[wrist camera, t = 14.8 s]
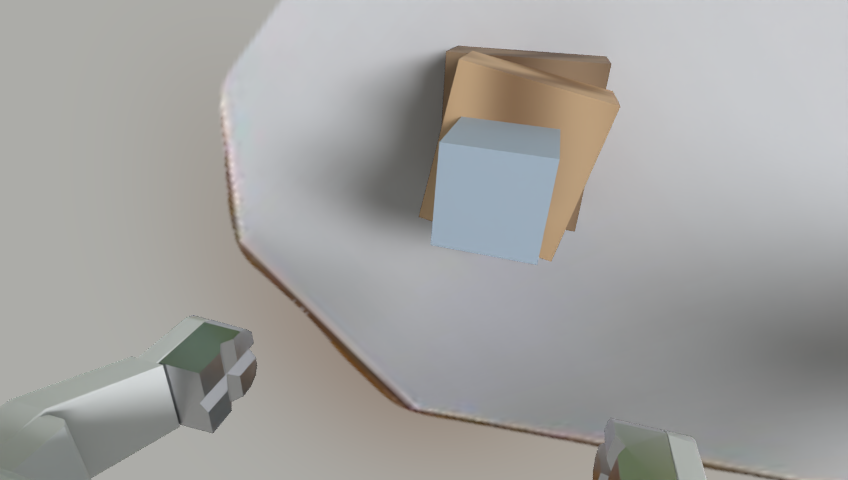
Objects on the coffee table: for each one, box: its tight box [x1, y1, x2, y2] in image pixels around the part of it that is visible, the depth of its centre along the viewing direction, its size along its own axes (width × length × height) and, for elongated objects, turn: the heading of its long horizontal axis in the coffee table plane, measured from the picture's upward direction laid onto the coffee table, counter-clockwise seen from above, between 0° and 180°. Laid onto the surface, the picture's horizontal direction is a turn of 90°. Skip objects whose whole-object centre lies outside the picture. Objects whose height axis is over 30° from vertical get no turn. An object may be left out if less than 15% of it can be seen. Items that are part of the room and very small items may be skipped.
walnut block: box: [442, 46, 611, 231], centre depth 30 cm, size 9×10×4 cm
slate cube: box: [431, 116, 560, 265], centre depth 23 cm, size 5×5×5 cm
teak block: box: [419, 51, 620, 261], centre depth 26 cm, size 8×9×4 cm
